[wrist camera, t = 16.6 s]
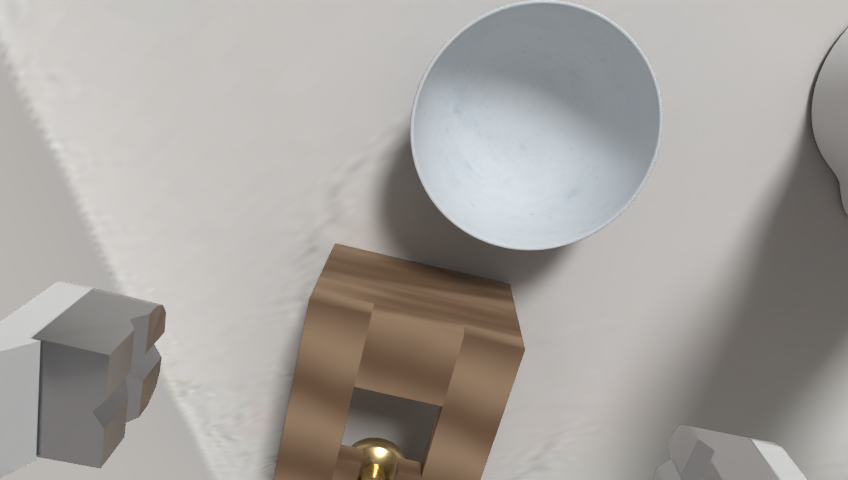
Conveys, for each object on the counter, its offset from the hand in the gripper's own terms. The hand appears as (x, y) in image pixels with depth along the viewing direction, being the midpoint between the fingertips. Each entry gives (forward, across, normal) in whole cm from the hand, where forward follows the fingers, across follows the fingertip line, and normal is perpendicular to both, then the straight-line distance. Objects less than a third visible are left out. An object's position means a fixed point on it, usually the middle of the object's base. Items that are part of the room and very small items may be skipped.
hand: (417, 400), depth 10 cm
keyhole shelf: (+37, -2, +25) cm, 45 cm away
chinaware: (+37, -6, 0) cm, 38 cm away
